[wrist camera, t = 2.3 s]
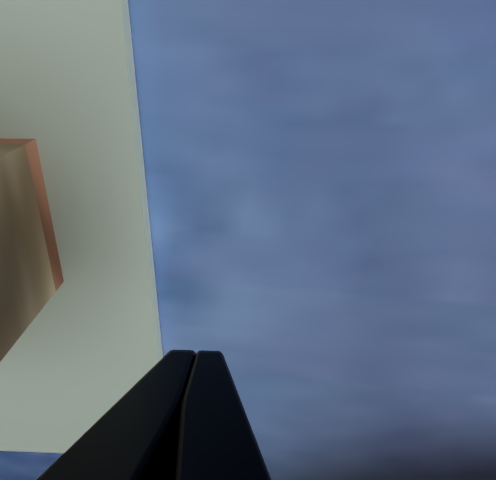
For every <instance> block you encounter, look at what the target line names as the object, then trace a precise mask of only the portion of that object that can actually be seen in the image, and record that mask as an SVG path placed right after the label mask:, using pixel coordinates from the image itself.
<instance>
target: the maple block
mask: <svg viewBox="0 0 496 480" xmlns="http://www.w3.org/2000/svg"><path fill="white" fill-rule="evenodd" d="M63 282H64V280H63V275H62V269H61V264H60V259H59V254H58V249H57V244H56V239H55V234H54V229H53V224H52V219H51V214H50V209H49V203H48V198H47V193H46V188H45V183H44V178H43V173H42V168H41V163H40V158H39V153H38V148H37V142H36V139H1V138H0V362H1V360H2V359H3V358H4V357H5V355H6V354H7V353H8V352H9V350H10V349H11V348H12V346H13V345H14V344H15V343H16V341H17V340H18V339H19V338H20V336H21V335H22V334H23V332H24V331H25V330H26V329H27V327H28V326H29V325H30V324H31V322H32V321H33V320H34V319H35V317H36V316H37V315H38V313H39V312H40V311H41V310H42V308H43V307H44V306H45V305H46V303H47V302H48V301H49V300H50V298H51V297H52V296H53V294H54V293H55V292H56V291H57V289H58V288H59V287H60V286H61V284H62V283H63Z"/></svg>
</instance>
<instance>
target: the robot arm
mask: <svg viewBox="0 0 496 480" xmlns="http://www.w3.org/2000/svg"><path fill="white" fill-rule="evenodd" d="M37 480H271V478H270V475H269V472H268V470H267V467H266V465H265V462H264V459H263V457H262V454H261V452H260V449H259V447H258V444H257V441H256V439H255V436H254V434H253V431H252V428H251V426H250V423H249V421H248V418H247V415H246V413H245V410H244V408H243V405H242V402H241V400H240V397H239V395H238V392H237V390H236V387H235V384H234V382H233V379H232V377H231V374H230V371H229V369H228V366H227V364H226V361H225V358H224V356H223V354H222V353H221V352H220V351H198V352H197V353H195V352H194V351H193V350H171V351H169V352H168V353H167V354H166V355H165V356H164V357H163V358H162V359H161V360H160V361H159V362H158V363H157V364H156V365H155V366H154V367H153V368H151V369H150V370H149V371H148V372H147V373H146V374H145V375H144V376H143V377H142V378H141V379H140V380H139V381H138V382H137V383H136V384H135V385H134V386H133V387H132V388H131V389H130V390H129V391H128V392H127V393H126V394H125V395H124V396H123V397H122V398H121V399H119V400H118V401H117V402H116V403H115V404H114V405H113V406H112V407H111V408H110V409H109V410H108V411H107V412H106V413H105V414H104V415H103V416H102V417H101V418H100V419H99V420H98V421H97V422H96V423H95V424H94V425H93V426H92V427H91V428H90V429H89V430H87V431H86V432H85V433H84V434H83V435H82V436H81V437H80V438H79V439H78V440H77V441H76V442H75V443H74V444H73V445H72V446H71V447H70V448H69V449H68V450H67V451H66V452H65V453H64V454H63V455H62V456H61V457H60V458H59V459H58V460H57V461H55V462H54V463H53V464H52V465H51V466H50V467H49V468H48V469H47V470H46V471H45V472H44V473H43V474H42V475H41V476H40V477H39V478H38V479H37Z"/></svg>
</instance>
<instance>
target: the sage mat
mask: <svg viewBox="0 0 496 480" xmlns="http://www.w3.org/2000/svg"><path fill="white" fill-rule="evenodd" d="M0 138H1V139H36V142H37V148H38V153H39V158H40V163H41V168H42V173H43V178H44V183H45V188H46V193H47V198H48V203H49V209H50V214H51V219H52V224H53V229H54V234H55V239H56V244H57V249H58V254H59V259H60V264H61V269H62V275H63V280H64V282H63V283H62V284H61V286H60V287H59V288H58V289H57V291H56V292H55V293H54V294H53V296H52V297H51V298H50V300H49V301H48V302H47V303H46V305H45V306H44V307H43V308H42V310H41V311H40V312H39V313H38V315H37V316H36V317H35V319H34V320H33V321H32V322H31V324H30V325H29V326H28V327H27V329H26V330H25V331H24V332H23V334H22V335H21V336H20V338H19V339H18V340H17V341H16V343H15V344H14V345H13V346H12V348H11V349H10V350H9V352H8V353H7V354H6V355H5V357H4V358H3V359H2V360H1V362H0V451H21V452H47V453H65V452H66V451H67V450H68V449H69V448H70V447H71V446H72V445H73V444H74V443H75V442H76V441H77V440H78V439H79V438H80V437H81V436H82V435H83V434H84V433H85V432H86V431H87V430H89V429H90V428H91V427H92V426H93V425H94V424H95V423H96V422H97V421H98V420H99V419H100V418H101V417H102V416H103V415H104V414H105V413H106V412H107V411H108V410H109V409H110V408H111V407H112V406H113V405H114V404H115V403H116V402H117V401H118V400H119V399H121V398H122V397H123V396H124V395H125V394H126V393H127V392H128V391H129V390H130V389H131V388H132V387H133V386H134V385H135V384H136V383H137V382H138V381H139V380H140V379H141V378H142V377H143V376H144V375H145V374H146V373H147V372H148V371H149V370H150V369H151V368H153V367H154V366H155V365H156V364H157V363H158V362H159V361H160V360H161V359H162V358H163V353H162V343H161V333H160V323H159V312H158V302H157V292H156V282H155V272H154V262H153V251H152V241H151V231H150V221H149V211H148V201H147V190H146V180H145V170H144V160H143V150H142V140H141V129H140V119H139V109H138V99H137V89H136V78H135V68H134V58H133V48H132V38H131V28H130V17H129V7H128V0H0Z"/></svg>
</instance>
